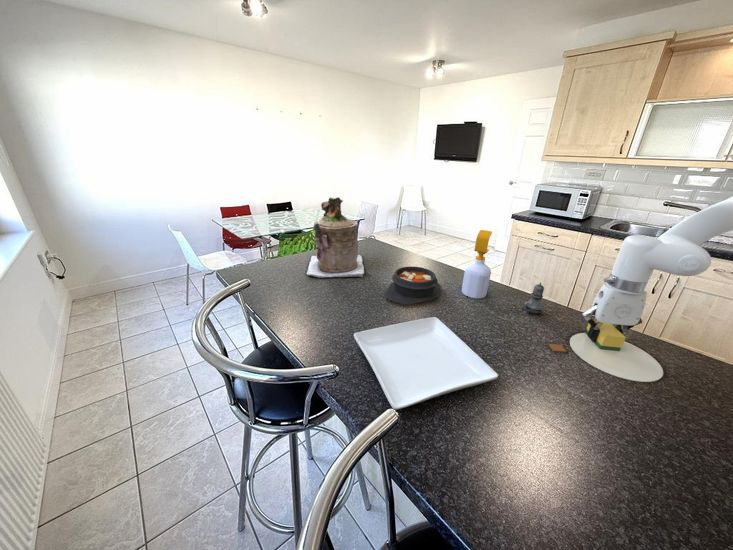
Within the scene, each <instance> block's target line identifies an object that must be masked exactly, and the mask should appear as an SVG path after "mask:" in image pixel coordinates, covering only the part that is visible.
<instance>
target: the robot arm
mask: <svg viewBox="0 0 733 550" xmlns="http://www.w3.org/2000/svg"><path fill="white" fill-rule="evenodd" d="M732 231H733V195H732V196H730V197H728V198H726V199H725V200H722V201H718V202H717V203H714V204H712V205H711V206H708V207H706V208H703V209H702V210H699V211H697V212H695V213H693V214H691V215H689V216H687V217H685V218H683V219H682V220H681V221H679V222H678V223H676V224H675V225H673V226H672V227H670V228H669V229H667V230H666V231H664V232H663V233H662V234H661V235H659V236H658V237H657V238H655V237H652V236H648V235H641V234H634V235H633V234H631V235H629V236H626V237H625V238H624V239H623V241H622V244H621V245H620V249H619V251H618V254H617V256H616V259H615V260H614V264H613V267H612V269H611V271H610V273H609V276H607V277H603V282H604V283H603V285H602V286H601V287H600V289H599V291H598V292H597V294H596V295H595V297H594V300H593V302H592V304H591V306H590V308H589V309H587V310H586V311H584V312H583V313H581V317H582V318H583V319H584V320H586V322H587V323H588V324H590V325H591V326H590V329H589V331H588V337H589V338H590V339H591V341H592V342H596V340H597V338H598V335H599V333H600V330H599V328H600V327H601V326H602V324H603V323H607V324H612V325H613V326H614V327H615V328H616V329H617V330H618V331H620V332H621V333H622V334H623V335H624V334H627V333H628V331H629V330H630V329H632V328H634V327H636V326H638V325H641V324H642V323H643V320H642V315H643V312H644V309H645V307H646V306H645V305H646V301H647V293H648V292H647V291H646V290H645V289H646V287H647V285H648V283H649V280H650V279H651V276H652V274H653V272H654V270H656V271H659V272H663V273H667V274H670V275H673V276H678V277H680V276H681V277H692V276H698V275H700V274H703V273H705V272H706V271H707V270H708V269H709V268H710V266H711V264H712V257H711V254H710V253H709V252H708V251H707V250H706V249H705V248H704V247H702V246H701V245H702V244H705V243H706V242H707V241H710V240H711V239H713V238H715V237H717V236H720V235H723V234H725V233H728V232H732ZM592 316H593V317H592ZM597 321H598V322H597ZM596 322H597V323H596ZM615 325H616V326H615Z"/></svg>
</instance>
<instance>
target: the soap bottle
mask: <svg viewBox="0 0 733 550" xmlns="http://www.w3.org/2000/svg"><path fill="white" fill-rule="evenodd" d="M492 235H493V232H492V230H486V229H480V230H479V232H478V233H477V236H476V240H475V244H474V252H476V253H477V254H478V255H476V256H475V259H474V262H471V263H469V264H467V265H466V267H465V268H464V273H463V279H462V285H461V293H462V294H463V295H464V296H465V297H467V296H468V298H470V299H478V300H479V299H484V298H486V296H487V293H488V290H489V285H490V280H491V275H492V271H491V270H492V269H491V268H490V267H489V266H488V265H487V264H486V263H485V262H486V256H484V255H485V254H488V252H489V251H490V249H489V248H488V246H489V241H490V238H491V236H492Z"/></svg>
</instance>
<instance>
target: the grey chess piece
mask: <svg viewBox="0 0 733 550" xmlns="http://www.w3.org/2000/svg"><path fill="white" fill-rule="evenodd" d="M544 290H545V287H544V286H543V284H542V282H539V283H537V284H535V285H534V286H533V290H532V292H531V293H530V295H531V296H530V299H529V300H526V301H524V303H523V304H524V310H522V314H523V315H539V314H540V313H541V312H542V311H543V310H544V308H545V306H544V305H543V304H542V302H541V301H542V298H544V296H543V293H544Z"/></svg>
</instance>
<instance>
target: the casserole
mask: <svg viewBox="0 0 733 550" xmlns="http://www.w3.org/2000/svg"><path fill="white" fill-rule="evenodd" d="M391 280H392V282H391V283H390V285H389V286H388V289H387V290H386V291H385V293H384V296H385V297H386V298H387V299H389V300H391V301H392V302H396V303H398V304H402V305H413V304H416V303H420V302H421V303H422V302H427V301H432V300H433V299H436V298H437V297H438V296H439V294H440V293H439V291H440V288H441V284H440V283H439V280H438V279H437V276H436V273H435V272H433V271H432V270H431V269H428V268H425V267H420V266H411V265H410V266H402V267H399V268H397V269H396V270H395V271H394V273H393V274H392V275H391Z"/></svg>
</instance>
